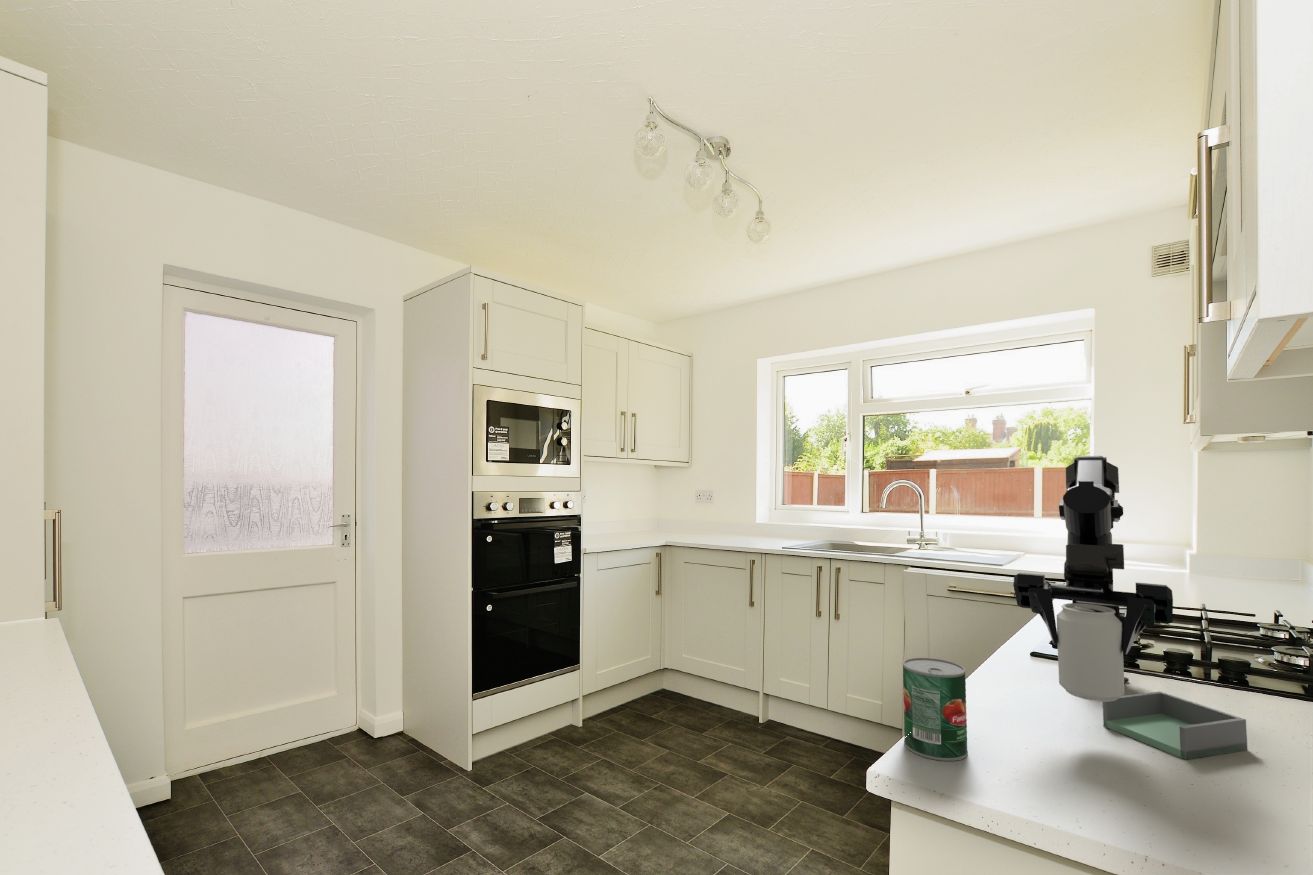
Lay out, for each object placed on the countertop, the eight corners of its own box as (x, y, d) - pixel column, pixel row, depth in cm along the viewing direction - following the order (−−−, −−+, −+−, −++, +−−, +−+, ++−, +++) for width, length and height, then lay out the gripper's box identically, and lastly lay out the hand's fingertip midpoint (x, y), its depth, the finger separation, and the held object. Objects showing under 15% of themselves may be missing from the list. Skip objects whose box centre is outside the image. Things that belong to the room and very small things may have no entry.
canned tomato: (900, 733, 89) (899, 655, 90) (960, 739, 87) (958, 659, 88) (908, 757, 81) (906, 672, 82) (974, 764, 79) (971, 677, 80)
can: (1138, 704, 83) (1135, 612, 83) (1081, 703, 83) (1078, 612, 83) (1099, 684, 90) (1096, 600, 91) (1047, 684, 90) (1044, 600, 91)
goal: (1160, 718, 95) (1159, 691, 95) (1247, 749, 84) (1245, 719, 84) (1103, 725, 92) (1102, 698, 92) (1185, 759, 81) (1184, 728, 81)
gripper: (1012, 519, 96) (1004, 604, 87) (1168, 526, 85) (1178, 624, 76) (1021, 564, 102) (1014, 648, 93) (1168, 576, 91) (1176, 672, 82)
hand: (1088, 647), depth 86 cm, fingers closed on can, 7 cm apart
